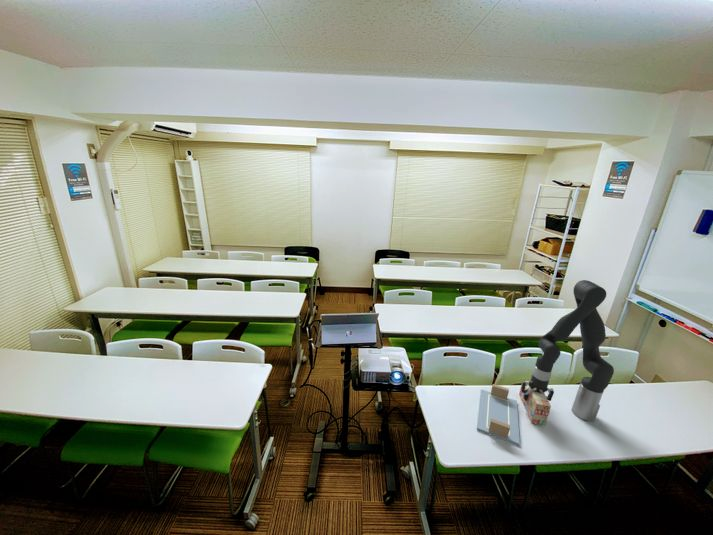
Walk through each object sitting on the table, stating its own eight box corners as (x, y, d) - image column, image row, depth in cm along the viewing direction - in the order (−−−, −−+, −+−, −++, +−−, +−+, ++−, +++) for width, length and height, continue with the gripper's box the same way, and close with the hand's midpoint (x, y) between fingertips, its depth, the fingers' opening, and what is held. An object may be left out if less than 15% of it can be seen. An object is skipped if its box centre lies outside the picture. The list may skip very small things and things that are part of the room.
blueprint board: (516, 402, 156) (519, 391, 154) (519, 445, 130) (522, 433, 128) (480, 390, 163) (483, 380, 161) (476, 429, 138) (479, 417, 135)
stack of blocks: (518, 393, 163) (523, 375, 159) (530, 396, 161) (535, 377, 158) (531, 423, 143) (536, 403, 139) (545, 426, 142) (551, 406, 138)
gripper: (556, 375, 145) (548, 402, 150) (524, 367, 151) (517, 392, 156) (559, 384, 139) (550, 412, 144) (525, 375, 145) (518, 401, 150)
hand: (533, 402), depth 150 cm, fingers closed on stack of blocks, 7 cm apart
